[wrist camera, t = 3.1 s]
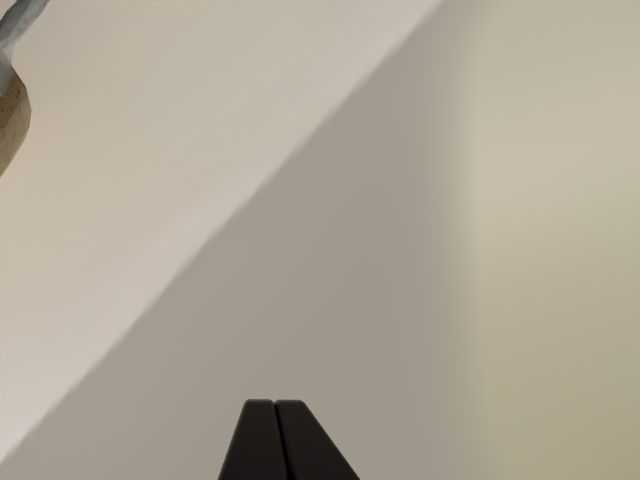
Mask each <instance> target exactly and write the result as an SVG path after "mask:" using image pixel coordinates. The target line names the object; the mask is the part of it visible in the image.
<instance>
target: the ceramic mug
mask: <svg viewBox="0 0 640 480" xmlns="http://www.w3.org/2000/svg"><path fill="white" fill-rule="evenodd" d="M48 2H49V0H17V1H16V3H15V4H14V5H13V6H12V7H10V8H9V9H8V10H7V11H6V13H5V15H4V16H3V18H2V19H1V20H0V177H1V176H2V174H3V173H4V172H5V170H6V169H7V167H8V166H9V164H10V162H11V161H12V159H13V158H14V156H15V154H16V153H17V151H18V150H19V148H20V147H21V145H22V143H23V141H24V139H25V136H26V134H27V131H28V129H29V125H30V117H31V108H30V103H29V99H28V94H27V90H26V87H25V85H24V84H23V82H22V81H21V79H20V78H19V76H18V75H17V73H16V72H15V70H14V69H13V67H12V65H11V59H12V47H13V46H14V45H15V44H16V43H17V42H18V41H19V39H20V38H21V37H22V36H23V35H24V34H25V33H26V32H27V31H28V30H30V29H31V27H32V25H33V24H34V22H35V21H36V20H37V18H38V17H39V15H40V14H41V12H42V11H43V10H44V8H45V7H46V5H47V4H48Z"/></svg>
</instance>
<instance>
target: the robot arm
mask: <svg viewBox="0 0 640 480" xmlns="http://www.w3.org/2000/svg"><path fill="white" fill-rule="evenodd" d="M218 480H360V479H359V477H358V476H357V474H356V473H355V472H354V471H353V469H352V468H351V466H350V465H349V463H348V462H347V461H346V459H345V458H344V457H343V455H342V454H341V453H340V451H339V450H338V448H337V447H336V446H335V444H334V443H333V442H332V440H331V439H330V437H329V436H328V435H327V433H326V432H325V430H324V429H323V428H322V426H321V425H320V423H319V422H318V421H317V419H316V418H315V417H314V415H313V414H312V412H311V411H310V410H309V409H308V407H307V406H306V404H305V403H304V402H302V401H301V400H277V401H275V402H274V403H273V401H272V400H269V399H267V400H266V399H248V400H247V401H246V402H245V403H244V405H243V408H242V411H241V414H240V417H239V420H238V423H237V425H236V428H235V431H234V434H233V437H232V440H231V443H230V445H229V449H228V451H227V454H226V457H225V460H224V463H223V465H222V468H221V471H220V474H219V477H218Z"/></svg>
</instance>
